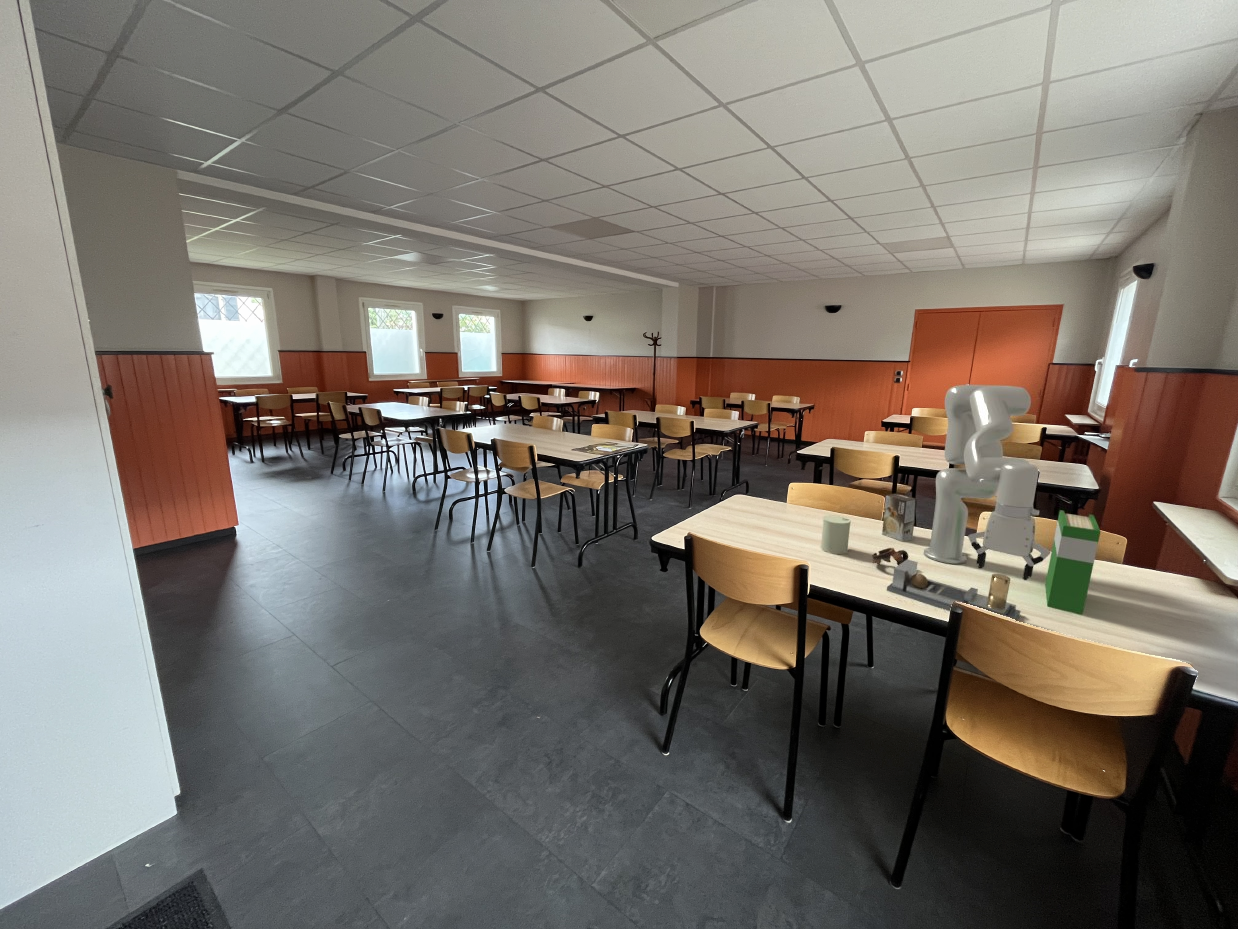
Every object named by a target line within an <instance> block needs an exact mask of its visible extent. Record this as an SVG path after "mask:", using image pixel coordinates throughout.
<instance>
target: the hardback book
mask: <svg viewBox="0 0 1238 929" xmlns="http://www.w3.org/2000/svg"><path fill="white" fill-rule="evenodd" d="M1057 518H1058V519H1057V523H1056V528H1055V533H1054V537H1053V543H1052V548H1051V551H1050V558H1049V562H1048V563H1049V564H1048V567H1047V573H1046V577H1045V578H1046V579H1045V583H1044V588H1045V596H1046V606H1047V607H1048V608H1052V609H1057V610H1061V611H1065V612H1069V613H1073V614H1077V615H1084V610H1085V605H1086V599H1087V596H1088V591H1089V587H1090V582H1091V578H1092V572H1093V568H1094V564H1095V559H1096V554H1097V549H1098V547H1099V546H1098V545H1099V542H1100V540H1099V539H1100V536H1101V532H1102V531H1101V530H1100V527H1099V524H1098V522H1097V520H1096V518H1095V515H1094V514H1088V516H1084V515H1079V514H1078V515H1077V514H1071V513H1065V511H1064V510H1063V509H1062V510H1061V509H1060V510H1059V511H1058V517H1057Z"/></svg>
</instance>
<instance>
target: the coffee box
mask: <svg viewBox="0 0 1238 929" xmlns="http://www.w3.org/2000/svg"><path fill="white" fill-rule="evenodd" d="M917 503H918V499H917V498H916V497H911V496H908V495H903V494H900V493H891V494H887V495H886V496H885V504H884V512H883V521H882V522H883V523H882V532H881V535H883V536H887V537H890V538H892V539H894V540H896V541H901V542H906V541H910V540H913V537H914V528H915V519H916V511H917Z"/></svg>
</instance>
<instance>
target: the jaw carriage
mask: <svg viewBox="0 0 1238 929" xmlns="http://www.w3.org/2000/svg"><path fill="white" fill-rule="evenodd" d="M1010 583H1011V578H1010V576H1007V575H1005V574H999V573H992V574H991V577H990V584H989V589H988V595H987V596H986V595H984V594H980V593H978V591H979V589H978V588H975V587H972V586H971V587H970V588H969V589H968V590H967V592H966V593H965V596H964V603H967V604H970V605H973V606H977V607H980V608H983V609H986V610H989V611H993V612H996V613H999V614H1002V615H1005V616H1006V615H1007V613H1008V612H1009V611H1010V606H1011V604H1012V603H1011V604H1010V602H1007V601H1008V594H1009V591H1010V590H1009V588H1010V585H1011V584H1010Z"/></svg>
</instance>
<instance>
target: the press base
mask: <svg viewBox="0 0 1238 929" xmlns="http://www.w3.org/2000/svg"><path fill="white" fill-rule="evenodd" d="M918 563H919V562H918V561H914V560H912V559H909V558H908V559H907V560H905V561H904V562H903V563H901V564H900V565H897V566H895V567H894V569H893V574H892V575H893V577H892V582H891V583H890V584H889V585H888V586H887V587H886V591H887V592H891V593H894V594H896V595H900V596H903V597H906V598H909V599H912V600H914V601H917V602H921V603H924V604H927V605H930V606H932V607H933V606H934V607H936V608H939V609H942V608H943V609H942V610H945V609H946V611H949V612H951V611H950V608H951V605H952V603H953V602H954V601H957V602H962V603H964V596H965V593H966V592H967V591H968V590H966V589H963V588H959V587H957V586H956V587H955V586H952V585H949V584H946V583H942V582H939V581H936V580H933V579H929V578H927V580H928V584H927V586H926V587H925V588H923V589H919V588H915V587H914V586H913V585H912V584H911V577H912V576H913V575H914V574H917V569H918ZM1009 603H1010V602H1009ZM966 604H967V603H966ZM1010 604H1011V606H1010V611H1009V612H1008V613H1007V615H1006V617H1010V618H1012V619H1015V620H1016V621H1017V619H1019V618H1020V616H1021V610H1019V609H1016V608H1017V604H1013V603H1010ZM979 608H980V607H979ZM988 611H989V610H988ZM991 612H993V611H991ZM994 613H996V612H994ZM997 614H999V613H997ZM1000 615H1002V614H1000ZM1019 615H1020V616H1019ZM1003 616H1005V615H1003Z"/></svg>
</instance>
